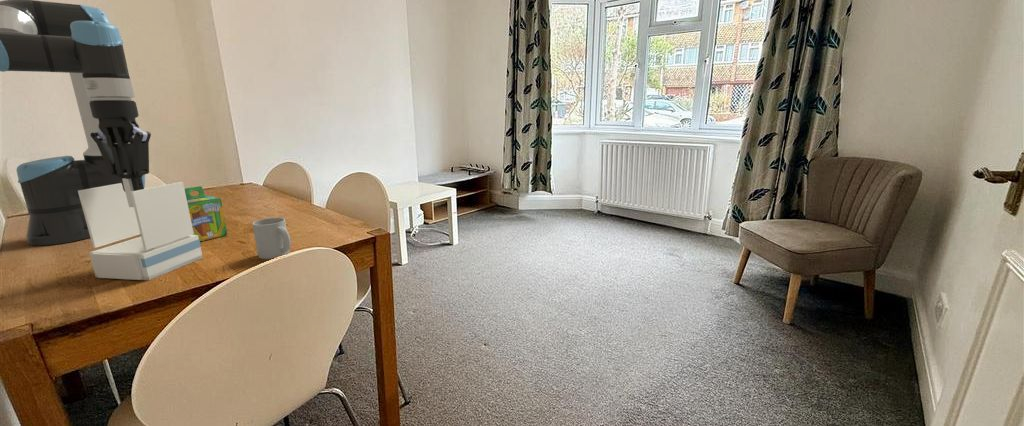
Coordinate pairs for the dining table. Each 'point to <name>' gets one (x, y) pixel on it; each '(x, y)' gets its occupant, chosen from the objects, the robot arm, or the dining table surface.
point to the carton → (144, 258)
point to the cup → (271, 237)
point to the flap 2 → (162, 214)
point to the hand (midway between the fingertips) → (137, 205)
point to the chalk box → (206, 214)
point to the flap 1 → (108, 214)
